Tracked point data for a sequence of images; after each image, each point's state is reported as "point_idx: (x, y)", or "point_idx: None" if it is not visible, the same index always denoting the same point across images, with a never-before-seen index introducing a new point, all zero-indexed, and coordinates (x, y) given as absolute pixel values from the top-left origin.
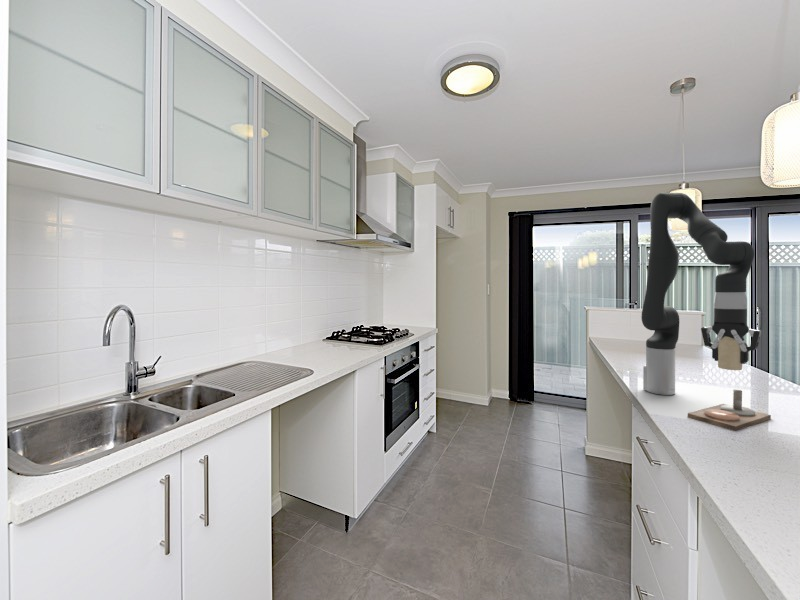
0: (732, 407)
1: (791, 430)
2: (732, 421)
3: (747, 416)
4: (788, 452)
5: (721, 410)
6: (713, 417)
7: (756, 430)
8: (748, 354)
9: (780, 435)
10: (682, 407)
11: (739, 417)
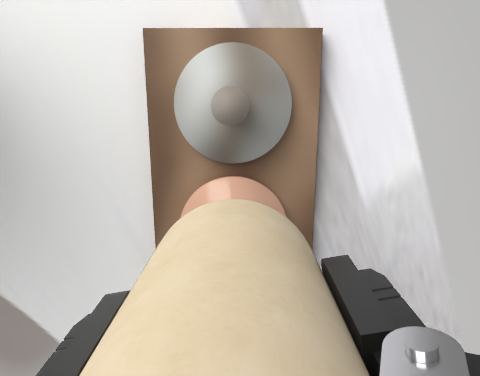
0: (211, 99)
1: (406, 121)
2: None
3: (282, 141)
4: None
5: (212, 187)
6: None
7: (341, 229)
8: (417, 325)
9: (400, 213)
10: (80, 194)
11: (273, 184)
